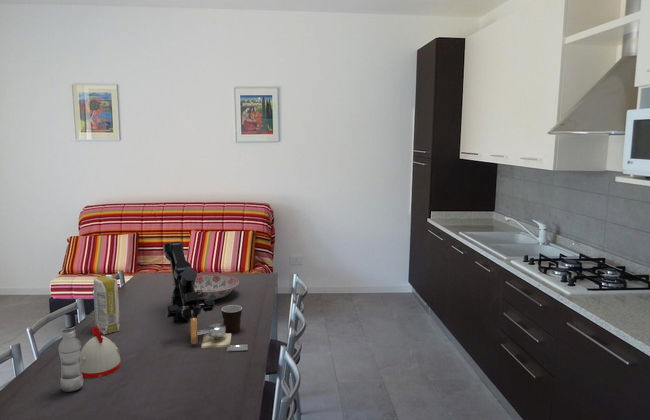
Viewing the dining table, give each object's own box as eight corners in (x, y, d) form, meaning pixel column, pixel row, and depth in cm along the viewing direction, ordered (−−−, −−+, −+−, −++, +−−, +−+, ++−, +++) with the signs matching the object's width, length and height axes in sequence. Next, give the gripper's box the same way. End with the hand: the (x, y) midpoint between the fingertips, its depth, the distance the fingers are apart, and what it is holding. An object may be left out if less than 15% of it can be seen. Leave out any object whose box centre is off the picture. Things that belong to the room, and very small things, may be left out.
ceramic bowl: (250, 294, 247) (250, 280, 246) (209, 311, 223) (209, 295, 221) (211, 285, 262) (211, 271, 261) (168, 299, 238) (168, 284, 237)
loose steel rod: (226, 351, 180) (226, 344, 181) (227, 352, 182) (227, 345, 183) (247, 350, 181) (247, 343, 182) (247, 351, 183) (247, 344, 184)
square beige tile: (201, 348, 183) (201, 341, 183) (204, 336, 194) (204, 329, 193) (230, 346, 185) (229, 339, 184) (231, 335, 196) (231, 328, 195)
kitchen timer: (112, 355, 176) (110, 317, 174) (127, 368, 166) (124, 328, 164) (72, 367, 166) (69, 327, 164) (85, 382, 157) (82, 339, 155)
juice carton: (122, 331, 198) (119, 276, 195) (102, 336, 193) (99, 280, 189) (112, 324, 205) (109, 271, 201) (93, 330, 199) (90, 275, 195)
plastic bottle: (66, 384, 155) (62, 326, 152) (87, 383, 156) (83, 326, 153) (56, 394, 149) (52, 335, 146) (79, 394, 149) (75, 334, 146)
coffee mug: (237, 336, 195) (237, 313, 194) (218, 334, 197) (218, 311, 195) (247, 325, 206) (247, 303, 205) (229, 323, 208) (229, 302, 207)
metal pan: (222, 333, 194) (222, 310, 192) (227, 339, 188) (227, 316, 186) (189, 339, 187) (188, 315, 186) (192, 346, 181) (192, 321, 180)
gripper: (166, 286, 184) (172, 322, 176) (213, 280, 193) (221, 314, 185) (163, 299, 192) (169, 334, 184) (208, 293, 201) (216, 326, 193)
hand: (194, 327), depth 187 cm, fingers closed
